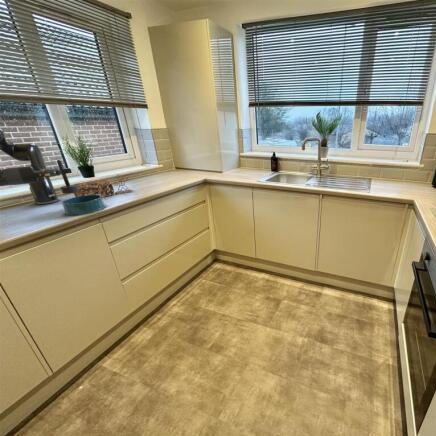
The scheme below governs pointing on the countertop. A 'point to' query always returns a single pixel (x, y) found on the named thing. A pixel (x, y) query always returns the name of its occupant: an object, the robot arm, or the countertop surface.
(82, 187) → the bread
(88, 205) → the bowl
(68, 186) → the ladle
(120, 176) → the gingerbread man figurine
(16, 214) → the countertop surface
